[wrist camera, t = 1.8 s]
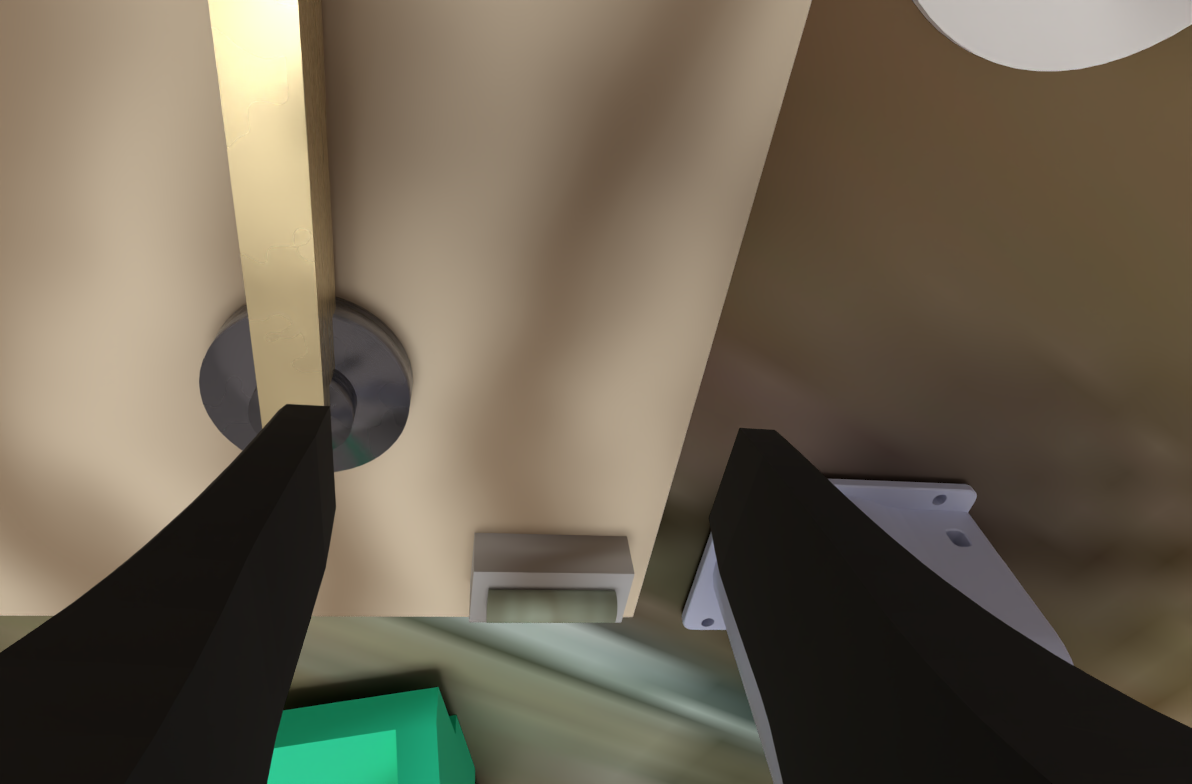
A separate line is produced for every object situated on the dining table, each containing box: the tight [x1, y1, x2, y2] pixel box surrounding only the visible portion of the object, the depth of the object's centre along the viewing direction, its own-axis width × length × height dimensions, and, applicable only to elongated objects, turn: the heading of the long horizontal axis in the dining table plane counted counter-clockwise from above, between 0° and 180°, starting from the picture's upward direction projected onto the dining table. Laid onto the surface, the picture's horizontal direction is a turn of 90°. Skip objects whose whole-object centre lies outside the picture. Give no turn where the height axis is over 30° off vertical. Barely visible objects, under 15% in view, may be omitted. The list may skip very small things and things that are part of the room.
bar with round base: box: [199, 0, 413, 472], centre depth 16 cm, size 5×12×2 cm, turn 171°
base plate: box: [0, 0, 812, 623], centre depth 18 cm, size 21×22×4 cm
